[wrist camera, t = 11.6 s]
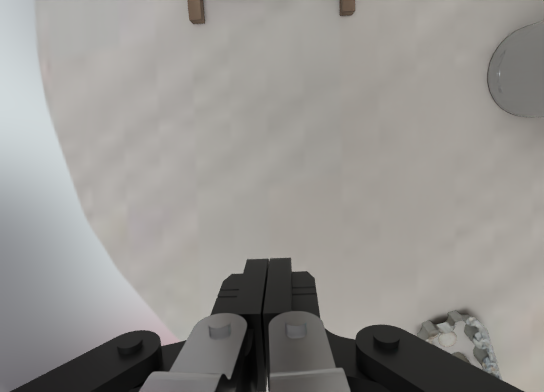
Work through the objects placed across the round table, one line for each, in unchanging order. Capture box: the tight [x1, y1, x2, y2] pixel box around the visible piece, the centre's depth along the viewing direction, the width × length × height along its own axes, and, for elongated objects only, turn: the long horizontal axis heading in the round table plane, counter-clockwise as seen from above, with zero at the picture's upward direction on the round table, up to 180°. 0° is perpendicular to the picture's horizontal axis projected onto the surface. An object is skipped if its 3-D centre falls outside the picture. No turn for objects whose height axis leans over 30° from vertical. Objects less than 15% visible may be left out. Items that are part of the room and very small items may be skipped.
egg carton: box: [417, 311, 502, 380], centre depth 46 cm, size 11×8×4 cm
